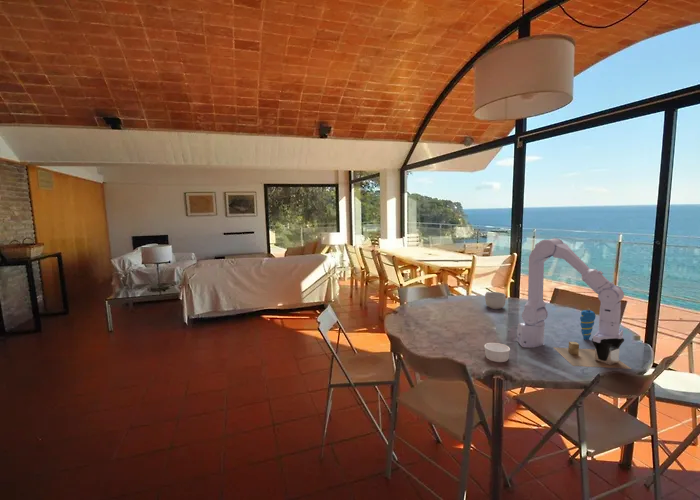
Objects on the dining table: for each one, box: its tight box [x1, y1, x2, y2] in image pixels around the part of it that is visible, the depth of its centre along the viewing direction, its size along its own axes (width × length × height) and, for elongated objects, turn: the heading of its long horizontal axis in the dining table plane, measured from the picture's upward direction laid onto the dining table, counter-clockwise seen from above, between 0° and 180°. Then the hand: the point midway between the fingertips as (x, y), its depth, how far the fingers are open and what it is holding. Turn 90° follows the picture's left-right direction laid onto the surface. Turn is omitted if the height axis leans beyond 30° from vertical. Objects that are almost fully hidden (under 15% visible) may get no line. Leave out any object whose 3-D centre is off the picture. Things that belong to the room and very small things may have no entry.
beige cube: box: [594, 345, 620, 365], centre depth 119 cm, size 5×5×5 cm
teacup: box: [484, 291, 507, 310], centre depth 193 cm, size 14×11×8 cm
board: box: [553, 341, 632, 370], centre depth 122 cm, size 18×16×6 cm
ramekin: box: [483, 342, 511, 363], centre depth 127 cm, size 9×9×4 cm
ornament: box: [579, 308, 597, 341], centre depth 139 cm, size 5×5×15 cm
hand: (606, 358), depth 119 cm, fingers closed on beige cube, 5 cm apart
